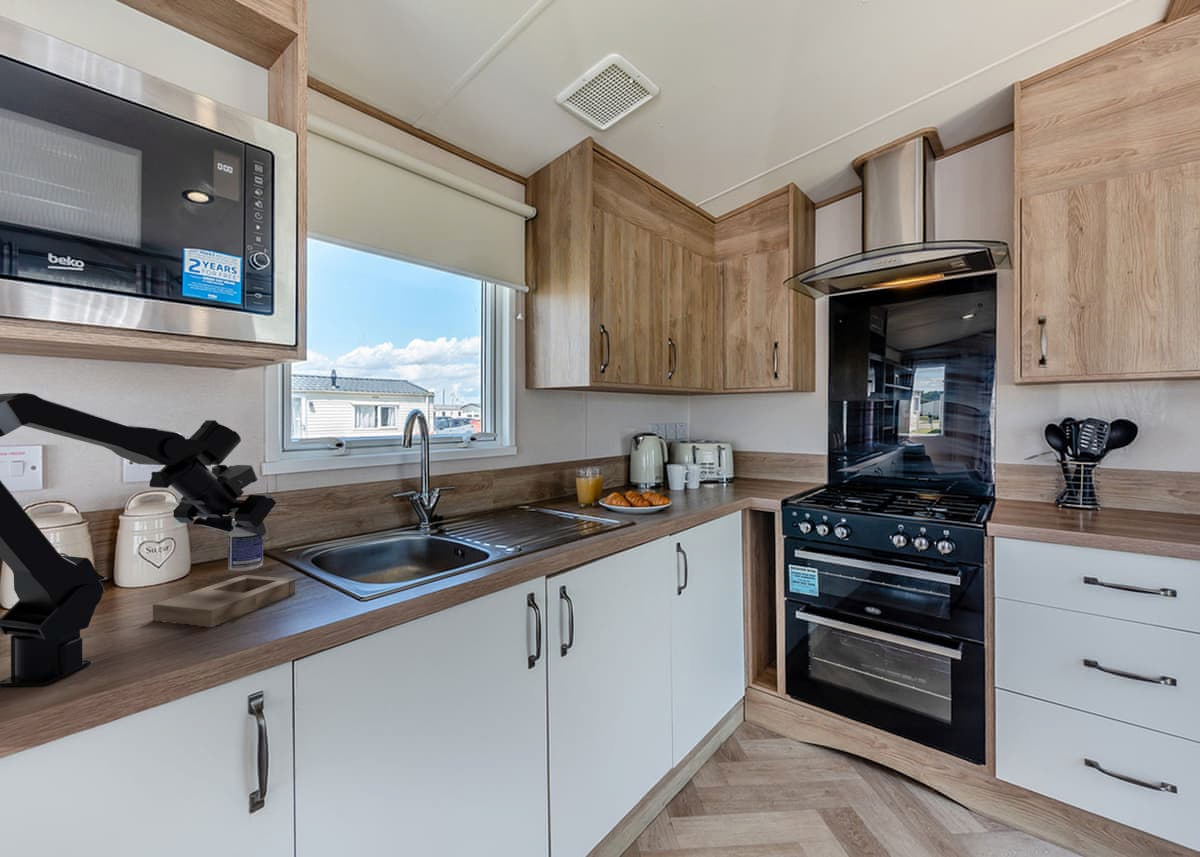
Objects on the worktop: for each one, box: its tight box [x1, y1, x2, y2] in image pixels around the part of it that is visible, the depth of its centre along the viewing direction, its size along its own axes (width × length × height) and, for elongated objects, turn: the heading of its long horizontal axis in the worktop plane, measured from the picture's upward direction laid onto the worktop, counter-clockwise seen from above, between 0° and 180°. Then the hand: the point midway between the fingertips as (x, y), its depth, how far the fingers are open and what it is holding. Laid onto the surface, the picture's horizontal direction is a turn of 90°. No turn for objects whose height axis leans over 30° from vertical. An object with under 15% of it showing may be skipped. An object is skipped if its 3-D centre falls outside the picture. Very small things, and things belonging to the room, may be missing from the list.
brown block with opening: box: [152, 574, 296, 628], centre depth 97 cm, size 18×13×3 cm
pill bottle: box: [227, 518, 264, 572], centre depth 101 cm, size 6×6×10 cm
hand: (252, 533), depth 102 cm, fingers closed on pill bottle, 6 cm apart
